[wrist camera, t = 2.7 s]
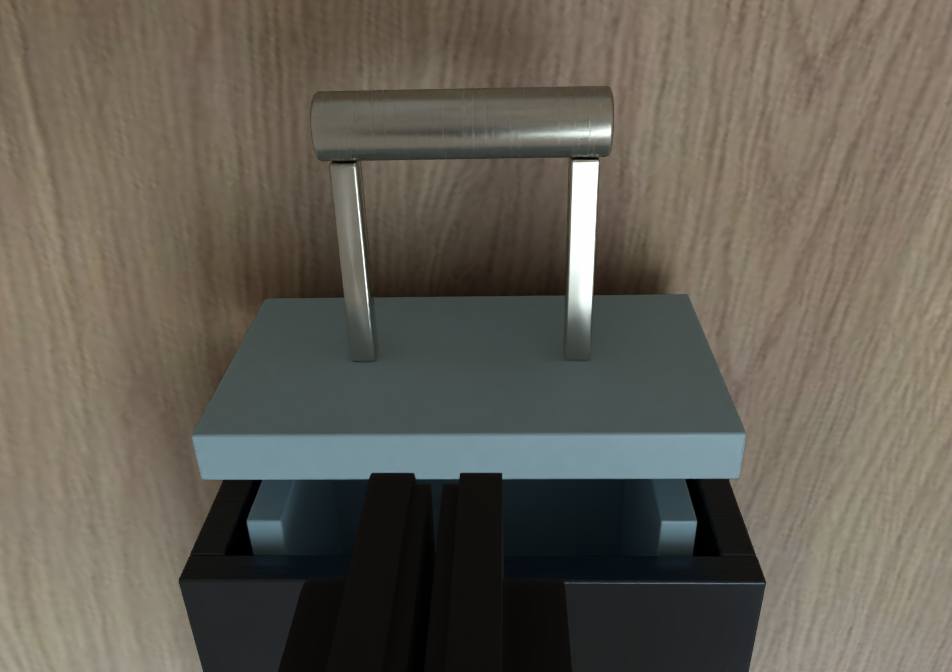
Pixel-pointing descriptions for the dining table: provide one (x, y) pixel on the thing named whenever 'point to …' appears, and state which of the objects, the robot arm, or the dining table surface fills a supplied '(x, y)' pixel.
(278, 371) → the drawer
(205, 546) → the small black cabinet
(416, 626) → the robot arm
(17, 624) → the dining table surface
